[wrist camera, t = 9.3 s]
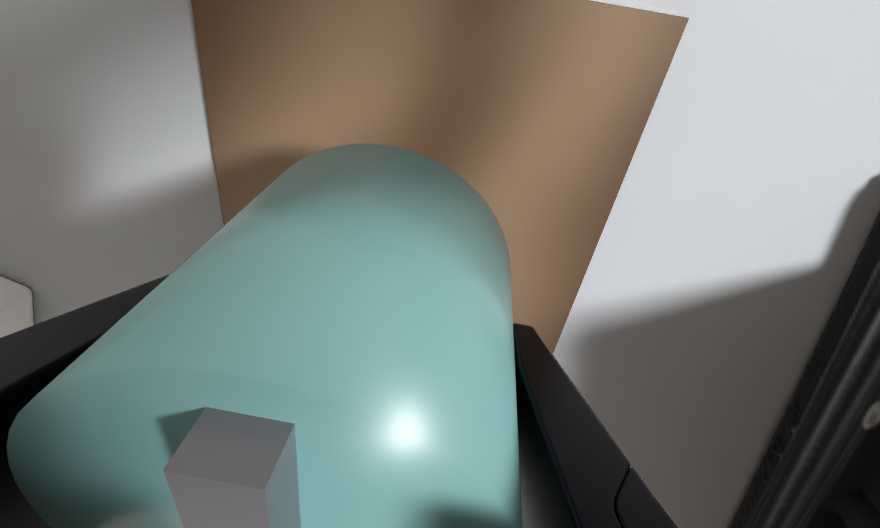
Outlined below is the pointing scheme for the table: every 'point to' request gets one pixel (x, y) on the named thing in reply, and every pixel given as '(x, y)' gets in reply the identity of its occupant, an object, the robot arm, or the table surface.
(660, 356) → the table surface
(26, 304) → the medicine bottle
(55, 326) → the robot arm
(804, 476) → the black drawer cabinet
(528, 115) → the walnut board
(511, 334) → the teal cap
